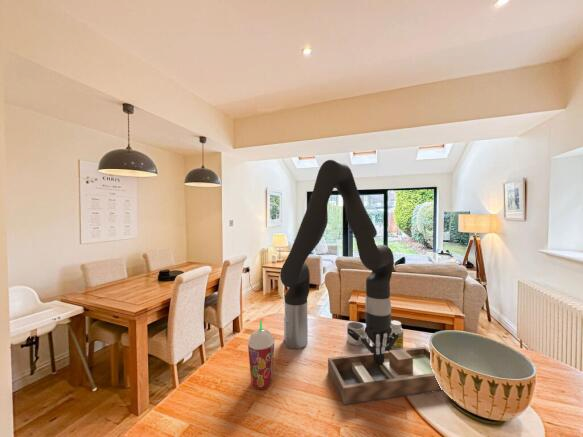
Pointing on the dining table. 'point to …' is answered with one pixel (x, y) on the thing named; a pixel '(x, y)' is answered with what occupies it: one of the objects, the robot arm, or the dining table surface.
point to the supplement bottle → (398, 330)
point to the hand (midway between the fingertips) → (378, 363)
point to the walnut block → (401, 362)
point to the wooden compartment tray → (380, 377)
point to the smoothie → (261, 357)
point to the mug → (355, 333)
